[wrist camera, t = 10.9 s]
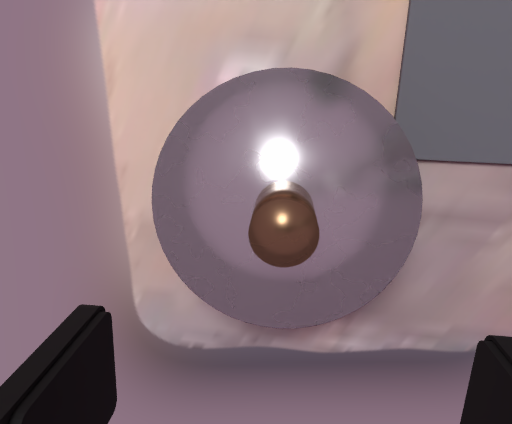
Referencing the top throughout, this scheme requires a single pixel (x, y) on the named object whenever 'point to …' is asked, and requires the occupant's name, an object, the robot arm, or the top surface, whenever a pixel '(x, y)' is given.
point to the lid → (287, 198)
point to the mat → (457, 80)
